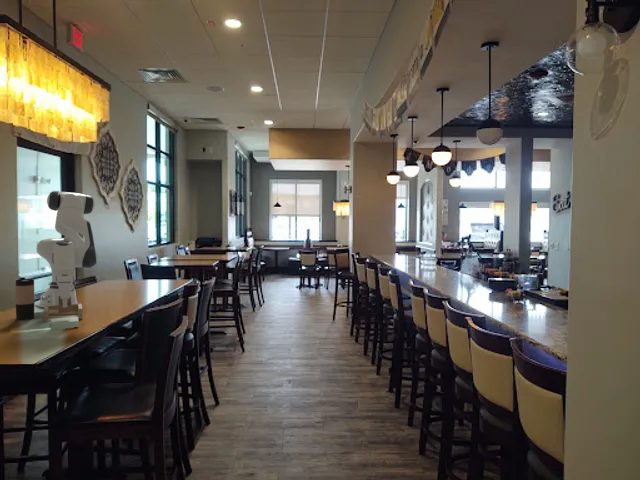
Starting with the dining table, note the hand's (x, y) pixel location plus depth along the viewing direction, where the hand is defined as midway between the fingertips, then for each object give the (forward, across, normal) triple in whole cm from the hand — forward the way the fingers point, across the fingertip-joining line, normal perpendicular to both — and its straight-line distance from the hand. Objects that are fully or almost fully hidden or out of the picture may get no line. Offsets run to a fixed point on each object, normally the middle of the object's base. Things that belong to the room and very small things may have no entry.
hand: (64, 306), depth 203 cm
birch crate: (+9, -17, -1) cm, 20 cm away
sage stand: (+9, 0, 0) cm, 9 cm away
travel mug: (+10, -22, -17) cm, 29 cm away
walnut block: (+3, 0, 0) cm, 3 cm away
